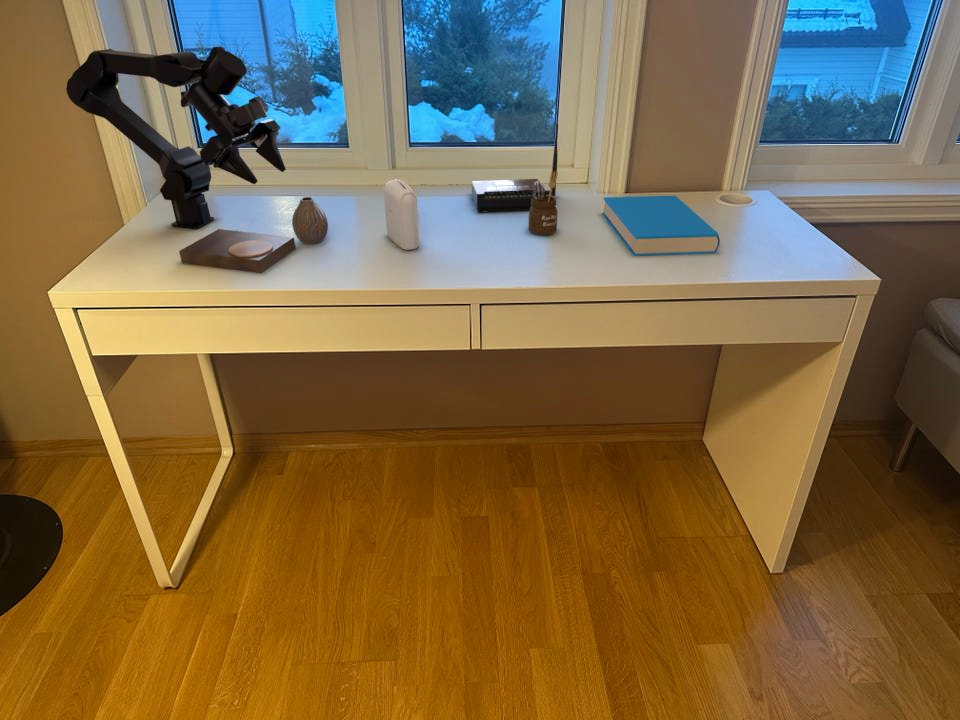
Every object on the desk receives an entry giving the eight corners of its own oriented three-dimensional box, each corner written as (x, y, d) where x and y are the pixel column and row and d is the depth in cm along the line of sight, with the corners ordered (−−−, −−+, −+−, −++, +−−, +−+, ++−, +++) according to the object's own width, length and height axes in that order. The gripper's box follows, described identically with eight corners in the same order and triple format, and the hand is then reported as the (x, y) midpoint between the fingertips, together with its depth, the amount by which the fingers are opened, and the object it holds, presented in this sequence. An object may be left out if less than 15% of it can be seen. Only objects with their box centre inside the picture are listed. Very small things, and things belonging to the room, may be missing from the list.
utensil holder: (522, 231, 142) (524, 174, 136) (541, 224, 146) (543, 168, 140) (544, 238, 139) (547, 180, 133) (562, 230, 143) (566, 174, 137)
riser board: (181, 263, 127) (178, 249, 126) (221, 240, 138) (218, 227, 136) (261, 273, 123) (258, 259, 122) (295, 249, 134) (293, 235, 132)
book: (636, 236, 129) (602, 195, 150) (633, 258, 131) (600, 214, 152) (723, 233, 130) (677, 193, 151) (718, 254, 132) (674, 212, 153)
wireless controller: (478, 213, 153) (477, 135, 144) (470, 194, 165) (470, 121, 156) (564, 209, 155) (569, 132, 146) (551, 191, 167) (555, 119, 158)
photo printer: (384, 235, 140) (380, 176, 134) (404, 232, 142) (400, 173, 136) (401, 252, 132) (397, 189, 126) (422, 248, 134) (419, 187, 128)
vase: (321, 248, 134) (316, 205, 130) (289, 245, 135) (282, 202, 131) (334, 236, 140) (330, 194, 135) (303, 233, 141) (297, 192, 137)
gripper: (202, 91, 119) (262, 163, 122) (267, 76, 134) (319, 141, 137) (174, 130, 125) (232, 198, 128) (239, 112, 140) (289, 173, 143)
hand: (270, 176), depth 134 cm, fingers open, 9 cm apart
